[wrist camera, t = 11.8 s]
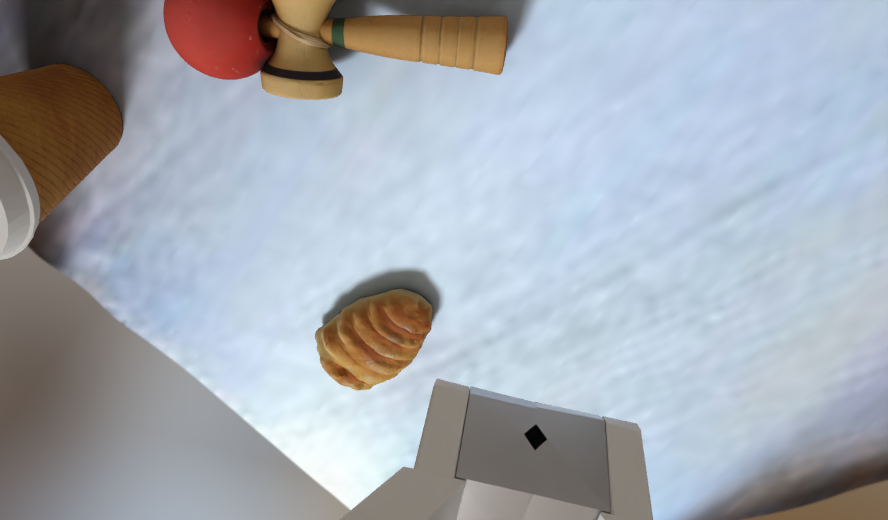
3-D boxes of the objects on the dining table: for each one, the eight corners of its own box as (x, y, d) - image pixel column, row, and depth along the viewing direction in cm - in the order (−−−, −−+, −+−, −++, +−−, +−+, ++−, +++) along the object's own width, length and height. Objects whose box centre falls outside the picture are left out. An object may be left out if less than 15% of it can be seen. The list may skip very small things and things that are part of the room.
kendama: (512, -59, 33) (169, -82, 33) (518, -11, 29) (121, -38, 28) (495, 76, 39) (201, 56, 38) (498, 133, 34) (165, 112, 34)
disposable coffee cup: (-22, 69, 41) (-208, 141, 31) (81, 13, 38) (-90, 74, 28) (74, 193, 45) (-62, 291, 36) (174, 152, 42) (55, 247, 32)
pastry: (389, 261, 45) (376, 293, 41) (458, 318, 46) (450, 353, 43) (314, 327, 49) (297, 360, 46) (379, 377, 51) (367, 412, 48)
